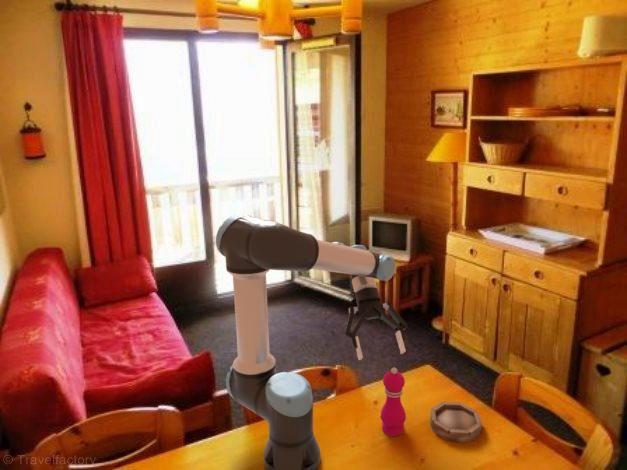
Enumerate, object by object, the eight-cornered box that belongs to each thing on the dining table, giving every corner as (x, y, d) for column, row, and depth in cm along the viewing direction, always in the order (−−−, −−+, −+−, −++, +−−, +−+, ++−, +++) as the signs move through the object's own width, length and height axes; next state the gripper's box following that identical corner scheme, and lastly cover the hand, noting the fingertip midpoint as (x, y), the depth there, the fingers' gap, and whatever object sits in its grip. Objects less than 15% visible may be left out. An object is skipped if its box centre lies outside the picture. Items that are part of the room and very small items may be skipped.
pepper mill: (405, 438, 131) (407, 376, 126) (379, 435, 133) (380, 374, 127) (405, 422, 138) (407, 362, 133) (381, 419, 140) (381, 360, 134)
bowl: (433, 440, 130) (433, 431, 129) (428, 409, 143) (428, 400, 143) (485, 444, 128) (486, 434, 127) (475, 412, 142) (475, 403, 141)
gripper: (398, 291, 156) (416, 353, 146) (326, 299, 151) (340, 364, 141) (405, 281, 150) (424, 346, 140) (330, 290, 144) (344, 358, 134)
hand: (382, 355), depth 140 cm, fingers open, 13 cm apart
